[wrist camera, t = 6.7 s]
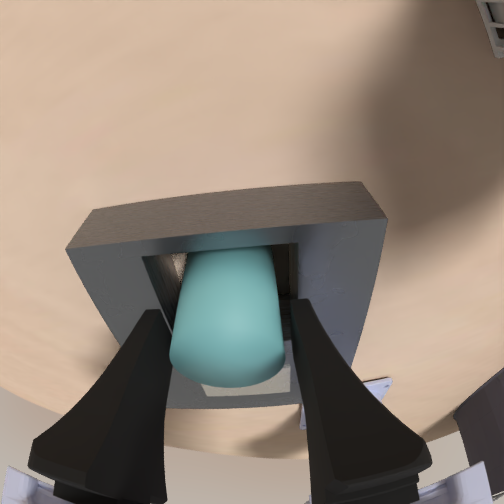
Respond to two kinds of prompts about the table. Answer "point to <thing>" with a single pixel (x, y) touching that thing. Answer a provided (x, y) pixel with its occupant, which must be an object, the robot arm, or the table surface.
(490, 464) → the ventilation fan
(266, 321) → the barrel peg
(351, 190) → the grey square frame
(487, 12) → the circuit breaker
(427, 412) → the table surface
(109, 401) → the robot arm
